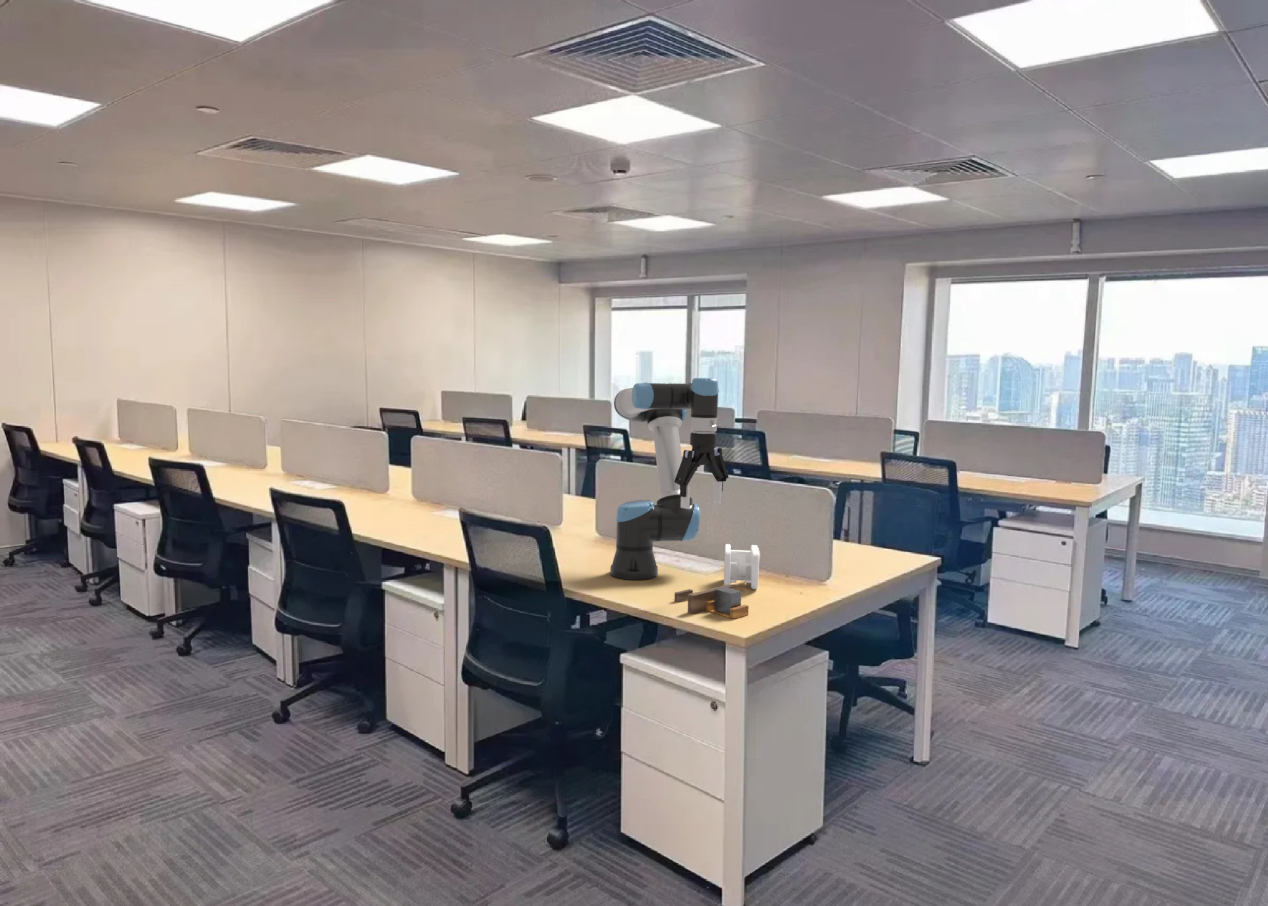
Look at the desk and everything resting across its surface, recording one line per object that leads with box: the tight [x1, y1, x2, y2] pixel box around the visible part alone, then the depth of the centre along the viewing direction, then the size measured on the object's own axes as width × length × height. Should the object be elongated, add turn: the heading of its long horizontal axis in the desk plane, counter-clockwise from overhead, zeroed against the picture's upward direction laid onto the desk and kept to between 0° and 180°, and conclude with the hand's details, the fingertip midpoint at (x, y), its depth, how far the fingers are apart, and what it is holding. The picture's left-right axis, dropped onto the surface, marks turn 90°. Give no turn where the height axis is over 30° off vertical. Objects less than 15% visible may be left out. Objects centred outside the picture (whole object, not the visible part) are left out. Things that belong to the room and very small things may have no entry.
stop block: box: [714, 587, 742, 615], centre depth 230 cm, size 6×4×6 cm, turn 42°
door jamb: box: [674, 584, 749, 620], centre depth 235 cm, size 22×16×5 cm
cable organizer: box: [723, 543, 761, 590], centre depth 260 cm, size 15×11×12 cm
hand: (701, 505), depth 245 cm, fingers open, 13 cm apart
